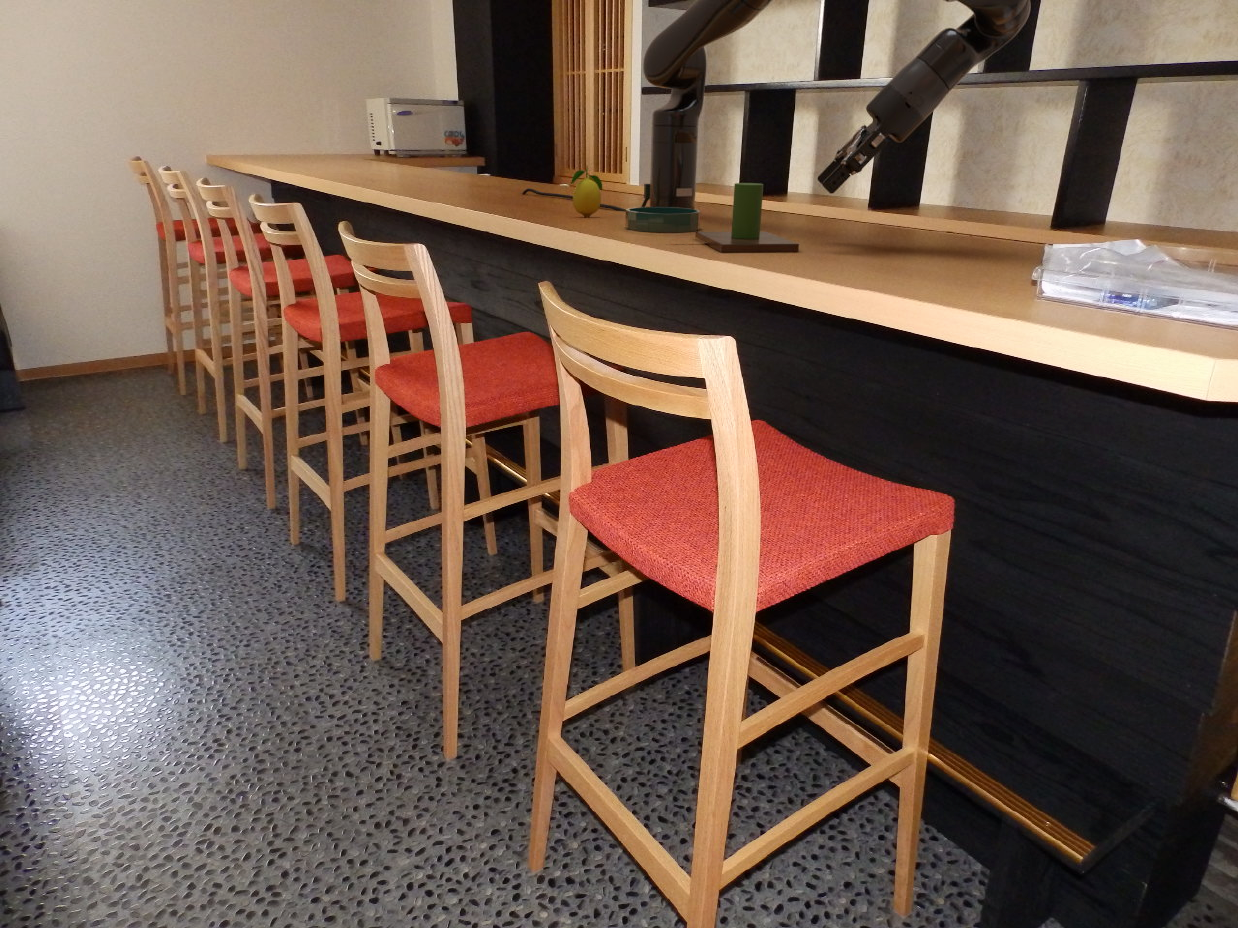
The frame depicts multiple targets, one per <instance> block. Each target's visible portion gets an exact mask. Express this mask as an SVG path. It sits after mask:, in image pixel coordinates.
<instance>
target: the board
mask: <svg viewBox="0 0 1238 928" xmlns="http://www.w3.org/2000/svg"><path fill="white" fill-rule="evenodd" d="M731 234H732V230H730V231H724V230H723V231H695V238H696V239H698V240H701V241H703V242H704V243H703V244H704V245H705V246H708V247H710V248H712V249H714V250H716V251H718V252H720V253H798V252H799V249H800V244H799V243H798V242H795V241H792V240H789V239H787V238H784V237H782V236H779V235H777V234H773V233H770V232H768V231H765V230H763V231H762V230H760V237H759V238H758V239H738V238H732V237H731Z"/></svg>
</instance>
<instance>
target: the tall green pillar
mask: <svg viewBox="0 0 1238 928" xmlns="http://www.w3.org/2000/svg"><path fill="white" fill-rule="evenodd" d="M763 193H764V184H763V183H757V182H756V183H755V182H736V183H734V185H733V203H732V204H733V205H732V218H731V219H732V221H731V231H732V234H731V237H732V238H738V239H758V238H759V237H760V231H761V224H762V223H761V222H762V209H763V196H764V195H763Z"/></svg>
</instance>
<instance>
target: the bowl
mask: <svg viewBox="0 0 1238 928" xmlns="http://www.w3.org/2000/svg"><path fill="white" fill-rule="evenodd" d="M701 212H702V211H701V210H699V209H697V208H695V209H690V208H678V207H650V206H645V207H641V206H638V207H629V208H626V211H625V223H624V224H625V229H627V230H630V231H636V232H642V233H643V232H644V233H661V234H662V233H664V234H665V233H670V234H671V233H676V234H677V233H690V232H698V231H699V230H700V229H701Z"/></svg>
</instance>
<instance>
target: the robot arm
mask: <svg viewBox="0 0 1238 928" xmlns="http://www.w3.org/2000/svg"><path fill="white" fill-rule="evenodd" d="M956 1H957V2H958V3H960V4H961V5H963V6H965V7H967V9H969V10H970V11H971V12H972V14H971V16H970V17H968V18H967V19H966V20H965V21H963V22H962V23H961V24H960V25H959V26H958V27H956V28H955V27H946V28H944V29H943V30H941V31H940V32H938V33H937V34H936V35H935V36H934V37H933V38H932V39H931V40H930V41H929V42H928V43H927V44H926V45H925V46H924V48H922V49H921V50H920V51H919V53H918V54H917V55H916V56H915V57H914V58H912V60H911V61H909V62H908V63H907V64H906V65H904V66H903V67H902V68H901V69H900V70H899V71H898V72H897V73H896V74H895V75H894V77H892V78H891V79H890V81H888V83H887V84H885V86H884V87H883V88H882V89H881V90H880V91H879V92H878V93H877V94H876V96H874V97H873V98H872V99H871V100H870V101H869V103H868V104H867V105H866V106H865V111H866V113H867V114H868V116H869V117H870V118H872V122H871V123H869V125H866V124H864V125H861V126H860V128H858V129H857V130H856V131H855V132H854V134H853V136H852V137H851V138H850V139H848V140H847V141H846V142H845V143H844V145H842V147H841V148H840V149H838V150H837V151H836V153H835V155H834V158H833V160H832V161H831V162H830V163H829V164H828V165H827V166H826V167H825V169H823V171H822V172H821V173H820V174H819V175H818V176H817V181H818V182H819V183H820V185H822V187H823V188H824V189H825V190H826V191H827V192H828V193H829V194H835V193H836V191H838V189H839V188H840V187H841V186H842V185H843V184H844V183H845V182H846V181H847V180H849V178H851V176H854V175H856V174H858V173H861V172H862V171H863V170H864V169H865V167H866V166H867V165H868V164H869V163H870V162H871V161H872V159H873V158H875V157H876V155H877V154H878V153H879V152H880V151H881V150H882V149H883V148H884V147H886V146H887V145H888V143H889V142H890V140H889V139H888V138H887V137H890V138H891V139H892V140H893V141H894V142H895V143H899V144H900V143H903V142H904V141H905V140H906V139H907V138H908V137H909V136H910V135H911V134H912V133H913V132H914V131H915V130H916V129H917V128H918V127H919V126H920V125H921V124H922V123H923V122H924V121H925V120H926V119H927V118H928V117H929V116H930V115H931V114H932V113H933V112H934V111H935V110H936V109H937V108H938V106H939V105H940V104H941V103H942V102H943V100H944V99H945V98H946V96H947V95H948V94H949V93H950V92H951V91H952V90H953V89H954V88H955V87H956V86H957V85H958V84H959V83H960V82H961V81H962V80H963V79H964V78H965V77H966V76H967V75H968V74H969V73H970V72H971V71H972V69H974V68H975V67H976V66H978V65H979V64H981V63H982V62H983V61H985V60H987V59H988V58H990V57H991V56H992V55H993V54H995V53H996V52H998V51H999V50H1001V48H1003V47H1004V46H1005V45H1007V44H1008V43H1010V42H1011V41H1012V40H1013V39H1014V38H1015V37H1016V36H1017V35H1018V33H1019V32H1020V31H1021V30H1022V28H1023V27H1024V26H1025V24H1026V22H1027V21H1028V19H1029V16H1030V14H1031V0H943V2H947V3H954V2H956ZM772 2H773V0H694V2H693V3H692V4H691V5H690V6H689V7H688V8H687V9H686V10H685V11H684V12H683V13H682V14H681V15H680V16H679V17H678V18H676V19H675V20H673V22H672V23H670V24H669V25H668V26H666V27H665V29H663V30H662V31H661V32H660V33H659V34H657V35H656V36H655V37H654V38H653V39H652V40H651V42H650V43H649V45H648V47H647V48H646V51H645V53H644V56H643V62H642V71H643V75H644V77H645V79H646V81H647V82H648V83H650V84H651V85H652V86H655V87H656V88H661V89H669V90H670V89H671V91H670V96H669V97H670V98H669V100H668V101H667V102H666V103H665V104H664V105H662V106H661V107H657V108H656V109H655V110H654V111H653V112H652V115H651V140H650V141H651V143H650V146H651V147H650V182H649V183H644V184H643V185H644V187H643V202H642V204H641V206H640V207H647V204H648V202H649V207H678V208H690V209H696V207H695V206H696V189H697V188H696V186H697V168H698V167H697V165H698V164H697V163H698V145H699V144H698V143H699V142H698V141H699V121H700V117H701V114H702V112H703V109H704V108H703V107H704V99H705V90H706V89H705V88H706V79H707V67H708V65H707V64H708V63H707V62H708V61H707V54H706V53H707V52H706V49H705V47H706V46H708V45H709V44H711V43H714V42H716V41H718V40H721V39H722V38H725V37H727V36H730V35H732V34H733V33H735V32H737V31H739V30H741V29H743V28H744V27H745V26H747V25H748V24H750V23H751V22H752V21H753V20H754V19H756V18H757V17H758V16H759V15H760V14H761V13H762V12H763V11H764V10H765V9H766V8H767V7H768V6H769V5H770V4H771V3H772ZM529 192H531V193H533V194H536V195H538V196H545V197H553V198H555V197H556V198H562V199H570V200H573V195H569V194H564V193H563V194H562V193H553V192H552V193H551V192H542V191H538V190H536V189H533V188H526V189H524V190H523V191H522V193H521V195H522V196H523V195H526V194H527V193H529ZM599 208H604V209H608V210H609V209H610V210H615V211H617V212H626V209H627V208H626V209H625V208H623V207H619V206H617V205H612V204H606V203H600V207H599Z"/></svg>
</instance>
